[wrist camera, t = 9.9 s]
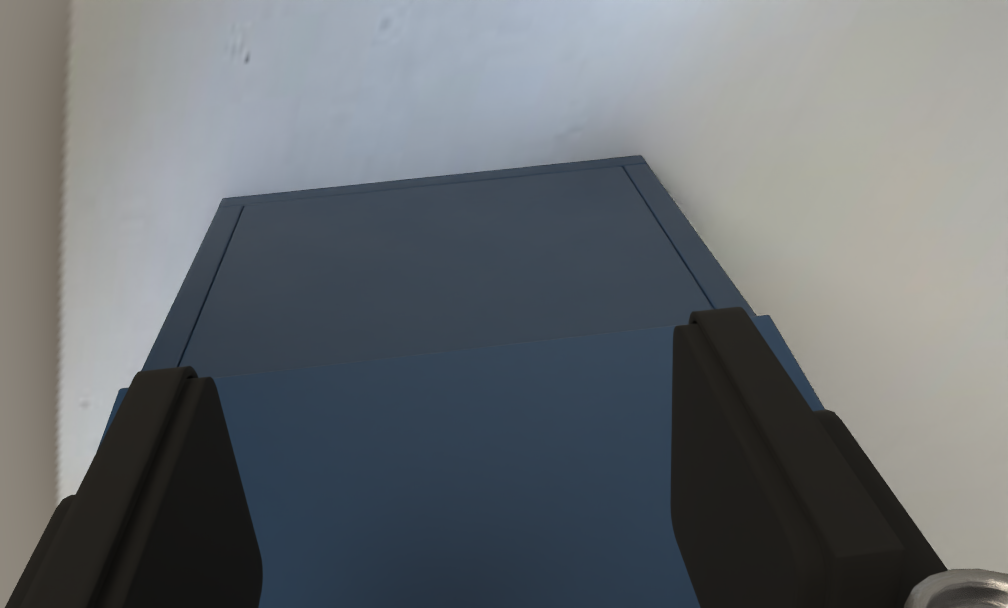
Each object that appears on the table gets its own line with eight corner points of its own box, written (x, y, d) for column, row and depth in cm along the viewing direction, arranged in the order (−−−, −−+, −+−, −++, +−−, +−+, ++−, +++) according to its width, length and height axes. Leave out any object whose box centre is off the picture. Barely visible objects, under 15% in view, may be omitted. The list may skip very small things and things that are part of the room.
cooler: (642, 462, 36) (735, 707, 26) (293, 505, 35) (250, 773, 25) (641, 154, 30) (760, 318, 20) (222, 198, 29) (130, 390, 19)
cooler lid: (1229, 1166, 9) (1556, 933, 6) (-202, 1404, 8) (-678, 1286, 5) (765, 343, 20) (796, 110, 17) (129, 416, 19) (39, 187, 16)
